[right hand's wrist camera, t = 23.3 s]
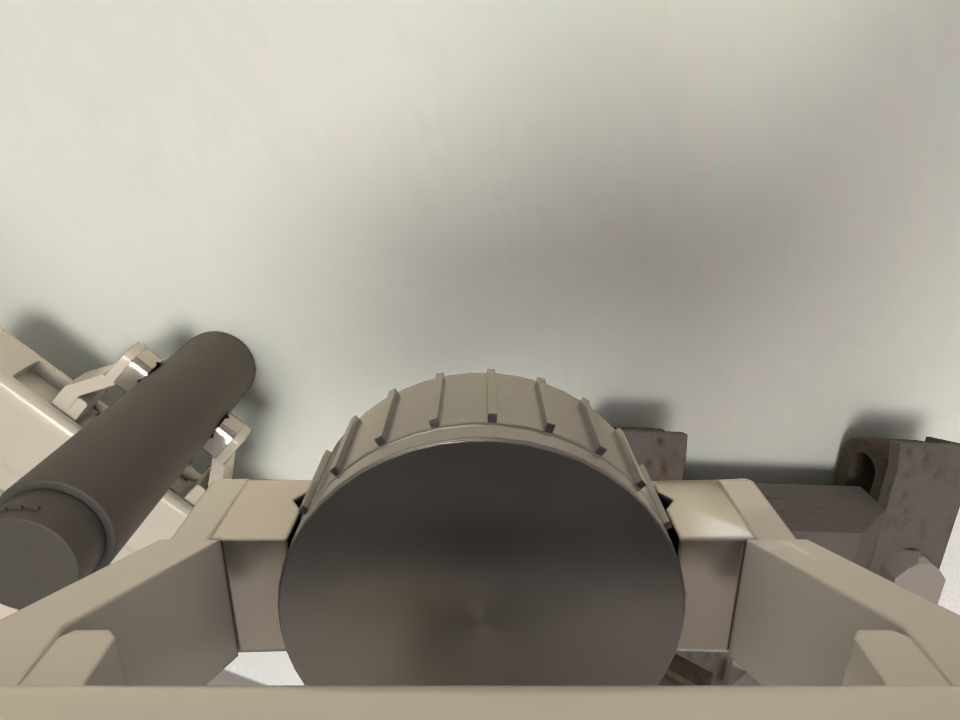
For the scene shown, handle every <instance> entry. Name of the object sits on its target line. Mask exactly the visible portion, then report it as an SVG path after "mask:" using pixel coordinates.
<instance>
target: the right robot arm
mask: <svg viewBox="0 0 960 720" xmlns="http://www.w3.org/2000/svg"><path fill="white" fill-rule="evenodd" d="M311 482H312V480H262V479H252V480H250V479H219V480H215V481H213V482H212V483H211V484H210V486H209V487H208V488H207V490H206V491H205V493H204V494H203V495H202V497H201V498H200V499H199V501H198V502H197V504H196V505H195V506H194V508H193V509H192V510H191V512H190V513H189V515H188V516H187V517H186V519H185V520H184V521H183V523H182V524H181V526H180V527H179V528H178V530H177V531H176V532H175V534H174V535H173V536H172V538H171V539H160V540H158V541H156V542H154V543H152V544H150V545H148V546H146V547H144V548H142V549H140V550H138V551H136V552H134V553H132V554H130V555H128V556H126V557H124V558H122V559H120V560H118V561H116V562H114V563H112V564H110V565H108V566H106V567H104V568H102V569H100V570H98V571H96V572H94V573H92V574H90V575H88V576H86V577H84V578H82V579H80V580H78V581H76V582H74V583H72V584H70V585H68V586H66V587H64V588H62V589H60V590H58V591H56V592H54V593H53V594H51V595H49V596H47V597H45V598H43V599H41V600H39V601H37V602H35V603H33V604H31V605H29V606H27V607H25V608H23V609H21V610H19V611H17V612H15V613H13V614H11V615H9V616H7V617H5V618H3V619H1V620H0V720H960V616H959V615H957V614H955V613H953V612H951V611H949V610H947V609H945V608H943V607H941V606H939V605H937V604H935V603H933V602H931V601H929V600H927V599H925V598H923V597H921V596H919V595H917V594H915V593H913V592H911V591H909V590H907V589H905V588H903V587H901V586H899V585H897V584H895V583H893V582H891V581H889V580H887V579H885V578H883V577H881V576H879V575H877V574H875V573H873V572H871V571H869V570H867V569H865V568H863V567H861V566H859V565H857V564H855V563H853V562H851V561H849V560H847V559H845V558H843V557H841V556H839V555H837V554H835V553H833V552H831V551H829V550H827V549H825V548H823V547H821V546H819V545H817V544H815V543H813V542H811V541H809V540H807V539H796V538H795V536H794V535H793V534H792V532H791V531H790V530H789V529H788V527H787V526H786V525H785V523H784V522H783V521H782V519H781V518H780V517H779V515H778V514H777V513H776V511H775V510H774V509H773V507H772V506H771V505H770V503H769V502H768V501H767V499H766V498H765V497H764V495H763V494H762V493H761V491H760V490H759V489H758V487H757V486H756V485H755V483H754V482H753V481H751V480H749V479H723V480H718V479H716V480H675V481H652V484H653V486H654V488H655V490H656V492H657V494H658V497H659V499H660V501H661V503H662V505H663V507H664V510H665V512H666V514H667V516H668V518H669V520H670V523H671V525H672V528H669V529H667V532H668V534H669V537H670V539H671V541H672V543H673V546H674V548H675V551H676V554H677V557H678V560H679V563H680V565H681V570H682V575H683V581H684V586H685V615H684V622H683V629H682V634H681V637H680V640H679V644H678V647H677V650H676V651H699V652H729V653H728V655H729V656H730V657H731V658H732V659H733V660H734V661H735V662H736V663H738V664H739V665H740V666H741V667H742V668H743V669H744V670H745V671H746V672H748V673H749V674H750V675H751V676H752V677H753V678H754V679H755V680H756V681H758V682H759V683H760V684H761V685H762V686H205V685H206V684H207V683H209V682H210V681H211V680H212V679H213V678H214V677H215V676H216V675H217V674H218V673H220V672H221V671H222V670H223V669H224V668H225V667H226V666H227V665H228V664H230V663H231V662H232V661H233V660H234V659H235V658H236V657H237V656H238V652H266V651H287V650H286V647H285V644H284V640H283V637H282V633H281V629H280V622H279V613H278V590H279V581H280V576H281V572H282V567H283V562H284V560H285V557H286V555H287V552H288V550H289V547H290V545H291V542H292V540H293V537H294V535H295V533H296V530H297V528H298V526H299V524H300V521H301V512H299V508H300V506H301V504H302V502H303V499H304V497H305V495H306V493H307V491H308V488H309V486H310V484H311Z"/></svg>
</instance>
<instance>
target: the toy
mask: <svg viewBox="0 0 960 720" xmlns="http://www.w3.org/2000/svg"><path fill="white" fill-rule="evenodd" d="M613 428H614V429H615V430H616V429H617V428H620V429H621V430H622V431H623V432H624V434H625V437H626V439H627V441H628V443H629V446H630V448H631V450H632V452H633V455H634V457H635V459H636V461H637V464H638V466H640V465H642V464H644V466H645V468H646V471H647V473H648V475H649V477H650V479H651V481H675V480H682V479H683V473H684V467H685V461H686V447H687V434H685V433H683V432H666V431H664V430H663V429H656V428H630V427H613ZM755 485H756V486H757V487H758V489H759V490H760V491H761V493H762V494H763V495H764V497H765V498H766V499H767V501H768V502H769V503H770V505H771V506H772V507H773V509H774V510H775V511H776V513H777V514H778V515H779V517H780V518H781V519H782V521H783V522H784V523H785V525H786V526H787V527H788V529H789V530H790V531H791V532H792V534H793V535H794V536H795V538H796V539H807V540H809V541H811V542H813V543H815V544H817V545H819V546H821V547H823V548H825V549H827V550H829V551H831V552H833V553H835V554H837V555H839V556H841V557H843V558H845V559H847V560H849V561H851V562H853V563H855V564H857V565H859V566H861V567H863V568H865V569H867V570H869V571H871V572H873V573H875V574H877V575H879V576H881V577H883V578H885V579H887V580H889V581H891V582H893V583H895V584H897V585H899V586H901V587H903V588H905V589H907V590H909V591H911V592H913V593H915V594H917V595H919V596H921V597H923V598H925V599H927V600H929V601H931V602H933V603H935V604H938V601H939V598H940V595H941V592H942V589H943V586H944V583H945V578H944V577H943V575H942V574H941V572H940V570H939V568H940V565H941V562H942V559H943V556H944V553H945V550H946V547H947V544H948V541H949V538H950V534H951V531H952V528H953V525H954V522H955V519H956V516H957V513H958V510H959V507H960V443H956V442H951V441H946V440H942V439H937V438H932V437H926V440H925V442H924V441H918V440H902V439H875V438H853V439H850V440H849V441H848V442H847V443H846V444H845V447H844V449H843V453H842V457H841V461H840V465H839V469H838V473H837V477H836V481H835V485H804V484H775V483H755ZM728 653H729V652H699V651H676V653H675V655H674V658H673V660H672V662H671V664H670V666H669V668H668V670H667V672H666V674H665V675H664V677H663V678H662V680H661V681H660V683H659V684H658V686H762V685H761V684H760V683H759V682H758V681H756V680H755V679H754V678H753V677H752V676H751V675H750V674H749V673H748V672H746V671H745V670H744V669H743V668H742V667H741V666H740V665H739V664H738V663H736V662H735V661H734V660H733V659H732V658H731V657H730V656H729V655H728Z"/></svg>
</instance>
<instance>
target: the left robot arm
mask: <svg viewBox="0 0 960 720" xmlns="http://www.w3.org/2000/svg"><path fill="white" fill-rule="evenodd" d="M162 362H163V360H162V359H161V358H159V357H158V356H157V355H156V354H154V353H153V352H152V351H151V350H149V349H147V347H146V346H144V345H143V344H142V343H140V342H138V343H137V344H135V345H134V346H133V347H131V348H130V349H129V350H128V351H126V352H125V353H124V354H123V355H122V356H121V357H120V359H119V360H118V361H117V362H116V363H115V364H112V365H108V366H105V367H101V368H98V369H94V370H91V371H87V372H85V373H84V374H82V375H81V376H79V377H78V378H76V379H75V380H72V379H71V378H70V377H68V376H67V375H65V374H64V373H63V372H61V371H60V370H59V369H57V368H56V367H55V366H53V365H52V364H50V363H49V362H48V361H46V360H45V359H44V358H42V357H41V356H40V355H38V354H37V353H36V352H34V351H33V350H31V349H30V348H29V347H27V346H26V345H25V344H23V343H22V342H21V341H19V340H18V339H17V338H15V337H14V336H13V335H11V334H10V333H9V332H7V331H6V330H4V329H3V328H1V327H0V496H1V494H2V493H3V492H5V491H6V490H7V489H8V488H9V487H11V486H12V485H13V484H14V483H15V482H17V481H18V480H19V479H20V478H22V477H23V476H24V475H25V474H27V473H28V472H29V471H30V470H31V469H33V468H34V467H35V466H36V465H38V464H39V463H40V462H41V461H43V460H44V459H45V458H46V457H47V456H49V455H50V454H51V453H52V452H54V451H55V450H56V449H57V448H59V447H60V446H61V445H62V444H63V443H65V442H66V441H67V440H68V439H70V438H71V437H72V436H73V435H75V434H76V433H77V432H78V431H79V430H81V429H82V428H83V427H84V426H86V425H87V424H88V423H89V422H91V421H92V420H93V419H94V418H95V417H97V416H98V415H99V414H100V413H102V412H103V411H104V410H105V409H107V408H108V407H109V406H108V405H106V404H105V403H104V402H102V401H101V400H100V399H101V398H102V397H103V395H104V394H105V393H106V392H107V390H108V389H107V387H110V386H113V385H118V386H119V387H121V388H122V389H124V390H125V391H126V392H127V391H129V390H130V389H131V388H132V387H134V386H135V385H136V384H137V383H139V382H140V381H141V380H142V379H143V378H145V377H146V376H147V375H148V374H150V373H151V372H152V371H153V370H155V369H156V368H157V367H158V366H159V365H160V364H161V363H162ZM251 431H252V429H251V428H250V427H249V426H247V425H246V424H245V423H244V422H242V421H241V420H240V419H238V418H237V417H236V416H234V415H233V414H232V413H231V412H230V413H229V414H228V415H227V416H226V417H225V419H224V420H223V421H222V423H221V424H220V425H219V426H218V427H217V429H216V430H215V431H214V433H213V434H212V436H211V437H210V438H209V439H208V441H207V442H206V443H205V444H204V446H203V447H202V448H203V449H204V450H205V451H207V452H208V453H209V454H210V455H212V456H213V457H212V463H211V466H210V467H209V468H208V469H207V470H206V471H205V472H204V473H203V474H200V473H199V472H197V471H196V470H195V469H193V468H192V467H191V466H189V465H188V466H187V467H186V468H185V470H184V471H183V472H182V473H181V475H180V476H179V477H178V478H177V480H176V481H175V482H174V484H173V485H172V486H171V487H170V489H169V490H168V491H167V492H166V494H165V495H164V496H163V497H162V499H161V500H160V501H159V502H158V504H157V505H156V506H155V508H154V509H153V510H152V511H151V513H150V514H149V515H148V516H147V518H146V519H145V520H144V521H143V523H142V524H141V525H140V527H139V528H138V529H137V530H136V532H135V533H134V534H133V535H132V537H131V538H130V539H129V540H128V542H127V543H126V544H125V545H124V547H123V548H122V549H121V551H120V552H119V553H118V554H117V556H116V557H115V558H114V559H113V561H112V562H111V563H110V564H112V563H114V562H116V561H118V560H120V559H122V558H124V557H126V556H128V555H130V554H132V553H134V552H136V551H138V550H140V549H142V548H144V547H146V546H148V545H150V544H152V543H154V542H156V541H158V540H160V539H171V538H172V536H173V535H174V534H175V532H176V531H177V530H178V528H179V527H180V526H181V524H182V523H183V521H184V520H185V519H186V517H187V516H188V515H189V513H190V512H191V510H192V509H193V508H194V506H195V505H196V504H197V502H198V501H199V499H200V498H201V497H202V495H203V494H204V493H205V491H206V490H207V488H208V487H209V486H210V484H211V483H212V482H213V481H215V480H219V479H232V476H233V468H234V460H235V452H236V450H237V449H238V448H239V447H240V446H241V444H242V443H243V442H244V441H245V439H246V438H247V437H248V435H249V434H250V432H251ZM110 564H109V565H110ZM17 611H18V609H14V608H11V607H8V606H5V605H2V604H0V620H1V619H3V618H5V617H7V616H9V615H11V614H13V613H15V612H17Z"/></svg>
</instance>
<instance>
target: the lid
mask: <svg viewBox="0 0 960 720" xmlns="http://www.w3.org/2000/svg"><path fill="white" fill-rule="evenodd" d="M299 512H301V521H300V524H299V526H298V528H297V530H296V533H295V535H294V537H293V540H292V542H291V545H290V547H289V550H288V552H287V555H286V557H285V560H284V562H283V567H282V572H281V576H280V581H279V590H278V613H279V622H280V629H281V633H282V637H283V640H284V644H285V647H286V650H287V653H288V655H289V657H290V659H291V662H292V664H293V666H294V668H295V670H296V672H297V673H298V675H299V677H300V678H301V680H302V681H303V683H304V684H305V686H658V684H659V683H660V681H661V680H662V678H663V677H664V675H665V674H666V672H667V670H668V668H669V666H670V664H671V662H672V660H673V658H674V655H675V653H676V650H677V647H678V644H679V640H680V637H681V634H682V629H683V622H684V615H685V586H684V581H683V575H682V570H681V565H680V563H679V560H678V557H677V554H676V551H675V548H674V546H673V543H672V541H671V539H670V537H669V534H668V532H667V529H669V528H672V525H671V523H670V520H669V518H668V516H667V514H666V512H665V510H664V507H663V505H662V503H661V501H660V499H659V497H658V494H657V492H656V490H655V488H654V486H653V484H652V481H651V479H650V477H649V475H648V473H647V471H646V468H645V466H644V464H642V465H640V466H638V464H637V461H636V459H635V457H634V455H633V452H632V450H631V448H630V446H629V443H628V441H627V439H626V437H625V434H624V432H623V431H622V430H621V429H620V428H617V429H616V430H615V429H614V428H613V427H612V426H611V425H610V424H609V423H608V422H607V421H606V420H605V419H604V418H603V417H602V416H601V415H599V414H598V413H597V412H595V411H594V410H593V409H592V408H591V405H590V402H589V401H588V400H587V399H585V398H584V397H583V398H582V399H581V401H580V400H578V399H576V398H574V397H573V396H571V395H569V394H567V393H566V392H564V391H561V390H559V389H557V388H554V387H552V386H549V385H547V384H546V382H545V379H543V378H539V377H538V378H537V380H536V381H534V380H530V379H526V378H523V377H518V376H511V375H504V374H496V373H495V370H494V369H487V373H469V374H460V375H451V376H445V377H444V373H439V374H436V377H435V379H432V380H428V381H424V382H422V383H419V384H416V385H414V386H411V387H408V388H406V389H403V390H401V391H399V392H397V390H396V389H393V390H391V391H389V394H388V397H387V398H386V399H384V400H383V401H381V402H380V403H378V404H377V405H376V406H374V407H373V408H371V409H370V410H369V411H367V412H366V413H365V414H364V415H363V416H361V417H360V418H358V417H357V416H356V415H355V416H354V417H353V418H352V419H351V420H350V422H349V425H348V427H347V430H346V432H345V434H344V435H343V437H342V438H341V439H340V440H339V442H338V443H337V444H336V446H335V448H334V449H333V451H332V452H330V451H328V450H326V452H325V453H324V455H323V457H322V460H321V462H320V464H319V466H318V468H317V471H316V473H315V475H314V477H313V480H312V482H311V484H310V486H309V488H308V491H307V493H306V495H305V497H304V499H303V502H302V504H301V506H300V508H299Z"/></svg>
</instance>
